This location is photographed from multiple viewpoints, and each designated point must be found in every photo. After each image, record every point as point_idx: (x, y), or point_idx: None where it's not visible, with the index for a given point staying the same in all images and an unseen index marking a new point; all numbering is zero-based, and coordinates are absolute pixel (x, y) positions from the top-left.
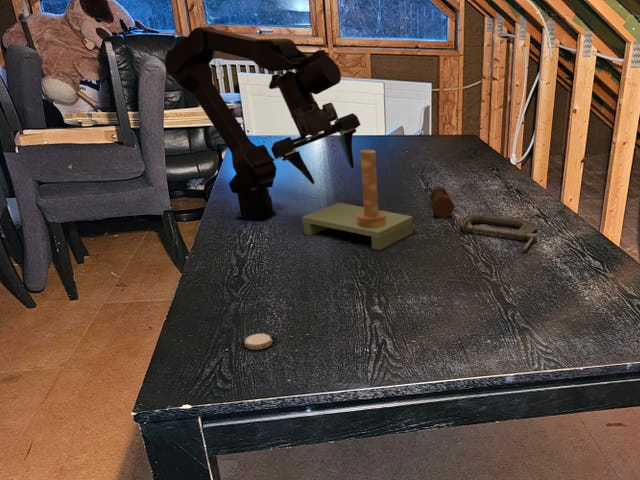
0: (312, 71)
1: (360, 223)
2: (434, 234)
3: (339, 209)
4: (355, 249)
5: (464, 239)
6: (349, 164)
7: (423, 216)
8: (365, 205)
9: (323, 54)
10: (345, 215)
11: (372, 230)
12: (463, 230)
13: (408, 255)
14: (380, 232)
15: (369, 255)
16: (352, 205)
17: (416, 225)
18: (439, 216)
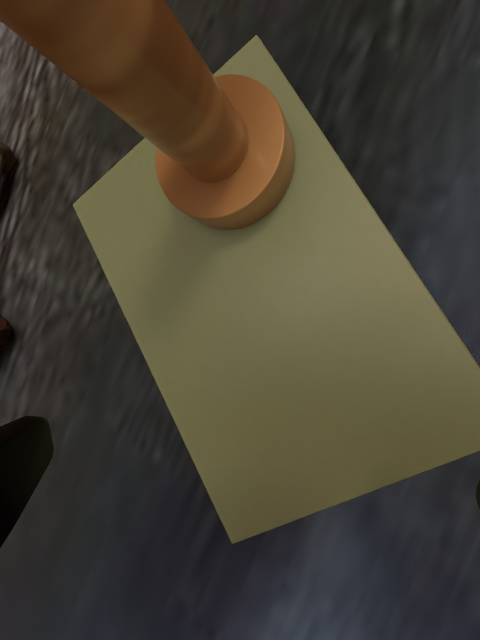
0: None
1: (289, 130)
2: (76, 186)
3: (274, 441)
4: (355, 123)
5: (35, 115)
6: (28, 486)
7: (33, 360)
8: (224, 94)
9: None
10: (287, 335)
11: (268, 70)
12: (9, 148)
13: (216, 12)
14: (248, 43)
15: (334, 41)
16: (199, 463)
17: (81, 289)
18: (4, 320)
